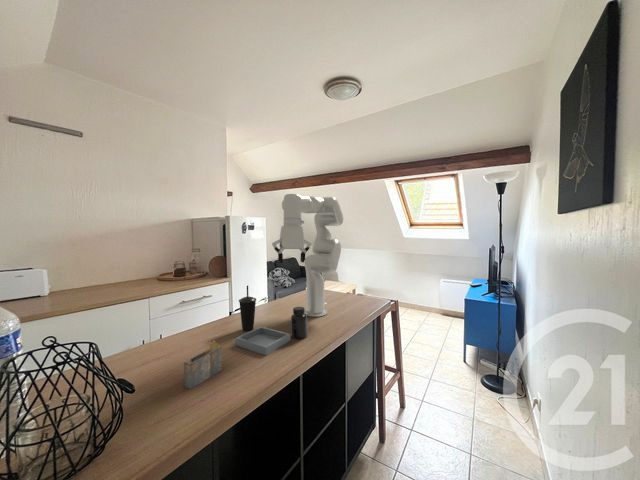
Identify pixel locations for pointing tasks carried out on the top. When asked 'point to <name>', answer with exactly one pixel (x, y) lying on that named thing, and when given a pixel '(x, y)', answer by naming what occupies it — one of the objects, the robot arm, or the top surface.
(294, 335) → the supplement bottle
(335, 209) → the robot arm
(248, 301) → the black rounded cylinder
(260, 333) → the tray
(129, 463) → the top surface
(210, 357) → the grey thin box
